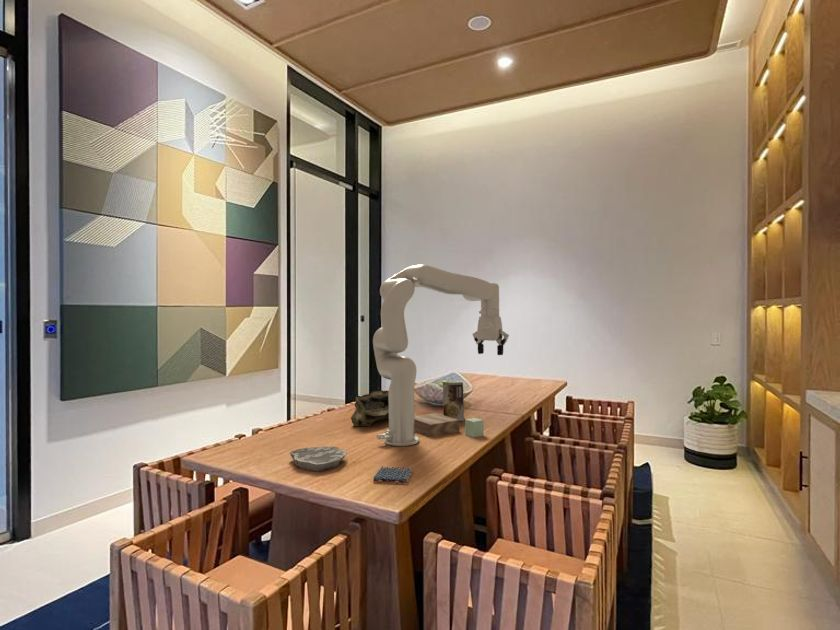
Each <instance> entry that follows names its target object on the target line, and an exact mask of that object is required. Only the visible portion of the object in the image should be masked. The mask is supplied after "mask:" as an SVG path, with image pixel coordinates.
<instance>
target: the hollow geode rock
mask: <svg viewBox="0 0 840 630" xmlns="http://www.w3.org/2000/svg"><path fill="white" fill-rule="evenodd" d="M388 393H389V390H381V389H378V390H374V391H371V392H370V393H368V394H363V395H362V396H361V395H356V396H355V399H354V402H355V403H354V407H355V410H354V412H353V413H352V416H351V417H350V420H351V423H352V424H353V427H354V426H355V427H369V426H371V425H372V424H373V423H376V422H379V421H383V420H387V419H388V420H389V400H388Z"/></svg>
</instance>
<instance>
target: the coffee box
mask: <svg viewBox="0 0 840 630" xmlns="http://www.w3.org/2000/svg"><path fill="white" fill-rule="evenodd" d="M442 395H443V396H442V399H443V400H442V407H443V408H442V410H443V414H442V415H445V416H448V417H451V418H455V419H458V420H459V422H465V407H464V406H465V403H464V401H465V400H464V382H459V381H458V382H457V381H456V382H453V381H452V382H451V381H449V382H443V383H442Z"/></svg>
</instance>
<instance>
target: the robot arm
mask: <svg viewBox="0 0 840 630" xmlns="http://www.w3.org/2000/svg"><path fill="white" fill-rule="evenodd" d="M415 288H424V289H428V290H431V291H434V292H438V293H442V294H446V295H461V296H462V297H463V298H464V299H465V300H467V301H469V302H470V301H471V302H478V301H480V310H479V311H478V313H479V314H480V316H479V317H478V322H477V330H476V331H475V332H474V333H472V337H473V340H474V341H475V344H476V345H477V354H478V355H482V354H484V350H485V348H484V342H485V341H489V342H490V341H491V342H493V341H495V342H496V343H497V344H498V345H497V347H496V348H497V349H496V350H497V356H503V355H504V345H505V344H506V343H507V342H508V339H509V336H510V335H509V334H508V333H507V332H505V331H503V322H502V318H501V317H502V316H500V286H499V283H495V282H494V283H491V282H489V281H487V280H485V279H481V278H479V277H474V276H470V275H465V274H460V273H456V272H455V273H454V272H452V271H451V272H450V271H447V270H443V269H441V268H438V267H435V266H431V265H428V264H423V263H422V264H416V265H410V266H407V267H405V268H403V270H401V271H399V272H398V273H395V274H394V275H392V276H391V277H389V278H388V279H386V280H385V281H384V282H382V284H381V285H380V288H379V294H380V296H381V299H382V300H383V302H382V304H381V308H380V322H381V327H379V328H378V329H377V330H376V331H375V332H374V334H373V337H372V345H373V347H372V348H373V352H374V358H375V363H376V368H377V372H378V373H379V375H380V376H381V377H382V378H383V379H386V380H390V383H389V386H388V387H389V388H388V391H389V393H388V400H389V419H388V429H386V430H385V432H384V433H378V434H377V435H376V438H377V440H379V441H381V440H384V443H385V444H386V445H389V446H395V447H407V446H413V445H416V444H418V443H419V442H420V439H419V437H418V436H417V435H415V434H416V433H415V432H416V431H415V421H414V416H415V385H416V378H417V366H416V363H415V362H414V360H413V359H411V358H410V357H408V356H404V355H399V353H404V352H405V351H406V349H407V348H408V345H409V337H408V332H407V326H406V320H405V319H406V318H405V309H406V306H407V304H408V302H409V301H410V300H411V299H412V297H413V296H414V294H415V290H416V289H415Z"/></svg>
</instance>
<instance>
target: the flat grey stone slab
mask: <svg viewBox="0 0 840 630" xmlns="http://www.w3.org/2000/svg"><path fill="white" fill-rule="evenodd" d="M347 453H348V452H347V450H346V449H341V448H339V447H338V446H337V447H336V446H315V447H314V446H313V447H304V448H303V447H302V448H298V449H296V450H292V451H290V452H289V454H290V457H291V458H292V459H293V462H294V463H295V465H296V466H297V467H298V468H299V469H302V470H307V471H312V472H322V471H324V470H328V469H329V470H330V469H335V468H336V467H338V466H339V464H340V462H341V461H343V460H344V459H345V457H346V455H347Z"/></svg>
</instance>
